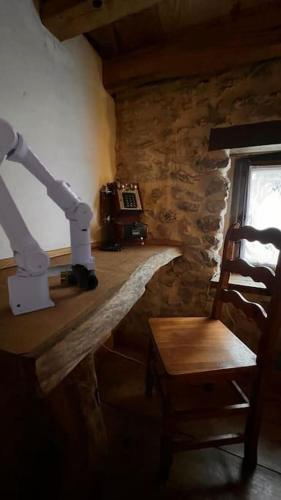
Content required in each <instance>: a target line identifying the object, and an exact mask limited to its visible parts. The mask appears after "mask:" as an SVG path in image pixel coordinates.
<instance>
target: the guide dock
mask: <svg viewBox="0 0 281 500" xmlns="http://www.w3.org/2000/svg"><path fill="white" fill-rule="evenodd" d="M75 264H76V263H72V262H69V263H68V262H67V263H61V264H55V265H49V267H48V269H47V272H48V278H52V277H57V276H58V277H59V276H60V271H65V270H68V271H70V270H72V269H71V266H73V265H75ZM95 269H96V268H95ZM95 269H93V271H94V272H95Z"/></svg>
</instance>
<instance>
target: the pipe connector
mask: <svg viewBox="0 0 281 500" xmlns="http://www.w3.org/2000/svg"><path fill="white" fill-rule="evenodd" d="M59 277H60V287H70V286H78V283H77V279H76V276H75V274H74V272H73V270H70V271H68V270H65V271H60V275H59ZM98 286H99V279H98V278H97V275H96V273H95V271H93V269H92V271H91V273H90V276H89V280H88V286H87V288H84V289H85V290H87V291H90V290H95V289H97V288H98Z"/></svg>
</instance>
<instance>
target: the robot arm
mask: <svg viewBox="0 0 281 500" xmlns="http://www.w3.org/2000/svg"><path fill="white" fill-rule="evenodd" d="M5 157H6V158H5ZM4 159H5V161H8V162H14V163H18V164H20V165H22V166H23V167H24V168H25V169H26V170H27V172H29V173H30V174H32V175H33V176H34V177H35V178H36V179H37V180H38V181H39V182H40V183H41V184H42V185H43V186H45V187H46V195H47V196H48V197H49V198H50V199H51V200H52V202H53V203H55V204H56V205H57V206H58V207H59V208H60V209H61V211H63V212H64V216H65V219H66V220H68V221H69V237H70V263H76V264H75V265H73V266H71V269H72V270H73V272H74V274H75V276H76V279H77V283H78V285H77V286H78V289H80V290H83V289H85V288H87V286H88V280H89V276H90V273H91V271H92V269H96V263H95V260H96V258H95V256H92V246H91V221H93V220H92V219H93V218H94V212H93V211H92V208H91V206H90V205H89V204H88V203H85V202H82V201H83V200H82V198H81V197H80V196H78V195H77V194H76V193H75V192H74V191H73V190H72V188H71V185H70V183H69V182H65V180H62V179H57V178H56V177H55V176H54V175H53V173H52V172H51V171H50V170H49V169H48V167H47V166H46V165H45V164H44V163H43V161H41V159H40V158H39V157H38V155H37V154H36V153H35V152H34V150H33V149H32V148H31V147H30V145H29V143H28V142H27V141H26V139H25V137H24V136H23V135H22V134H21V133H20V132H19V131H16V128H15V127H14V126H13V124H11V123H10V122H9V121H8V120H6V119H4V118H2V117H0V166H1V165H2V163H3V161H4ZM0 227H1V228H2V230H3V232H4V234H5V235H6V238H7V240H8V241H9V246H10V249H11V251H12V254H13V255H12V256H13V257H12V258H13V262H14V265H16V266H17V267H18V268H17V270H16V274H14V275H11V276H8V277H7V287H8V288H7V289H8V296H9V297H8V304H9V306H10V309H11V311H12V314H13V315H14V316H18V315H21V314H27V313H30V312H34V311H38V310H43V309H47V308H51V307H55V306H56V305H55V304H56V303H54V301H52V299H51V297H50V289H49V288H50V287H49V277H48V272H47V269H48V267H49V266H51V265H50V264H51V257H50V255H49V253H48V252H47V251H45V250H44V249H43V248H42V247H41V245H40V244H39V242H38V241H37V240H36V238H35V237H33V236H32V234H31V232H30V230H29V227H28V226H27V224H26V222H25V220H24V218H23V215H22V214H21V212H20V210H19V208H18V207H17V204H16V203H15V201H14V198H13V197H12V195H11V193H10V190H9V188H8V187H7V184H6V182H5V181H4V179H3V177H2V174H1V173H0Z"/></svg>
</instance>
